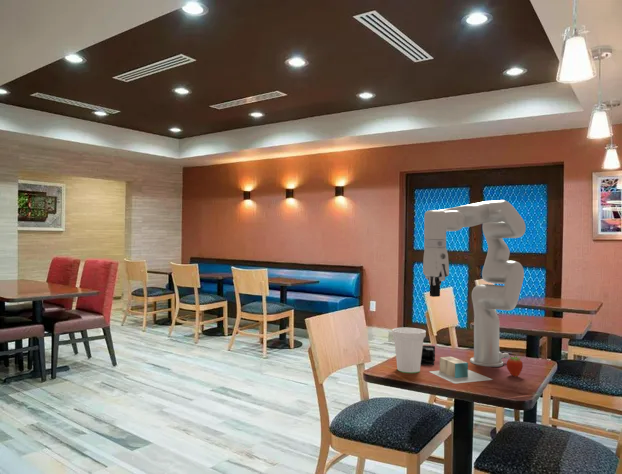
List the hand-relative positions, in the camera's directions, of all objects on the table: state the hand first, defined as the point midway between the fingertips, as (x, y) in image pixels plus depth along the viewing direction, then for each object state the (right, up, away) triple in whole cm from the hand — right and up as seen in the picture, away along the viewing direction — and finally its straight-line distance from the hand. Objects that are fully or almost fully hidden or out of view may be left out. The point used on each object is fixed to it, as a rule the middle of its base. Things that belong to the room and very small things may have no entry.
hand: (434, 296), depth 172 cm
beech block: (+9, -26, -1) cm, 28 cm away
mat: (+10, -29, +2) cm, 31 cm away
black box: (+1, -30, +22) cm, 37 cm away
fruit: (+30, -30, +2) cm, 42 cm away
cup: (-8, -29, +9) cm, 32 cm away
